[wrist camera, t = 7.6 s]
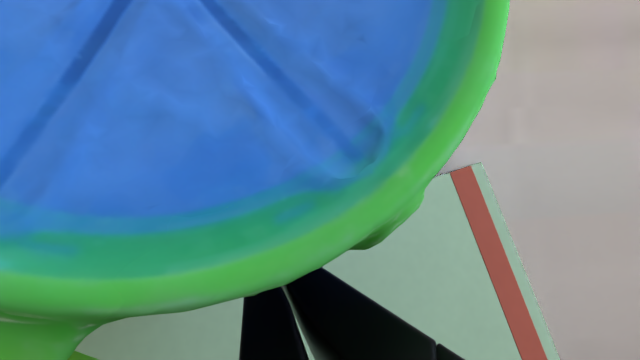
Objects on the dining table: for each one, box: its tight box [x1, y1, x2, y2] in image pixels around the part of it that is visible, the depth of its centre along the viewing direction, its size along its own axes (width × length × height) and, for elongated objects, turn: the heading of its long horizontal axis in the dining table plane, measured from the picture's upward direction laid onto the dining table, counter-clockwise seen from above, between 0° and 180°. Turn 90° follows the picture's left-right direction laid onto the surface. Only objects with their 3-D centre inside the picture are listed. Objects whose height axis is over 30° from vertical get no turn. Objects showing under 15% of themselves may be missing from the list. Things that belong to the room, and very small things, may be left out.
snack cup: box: [0, 0, 510, 360], centre depth 10 cm, size 16×11×10 cm
